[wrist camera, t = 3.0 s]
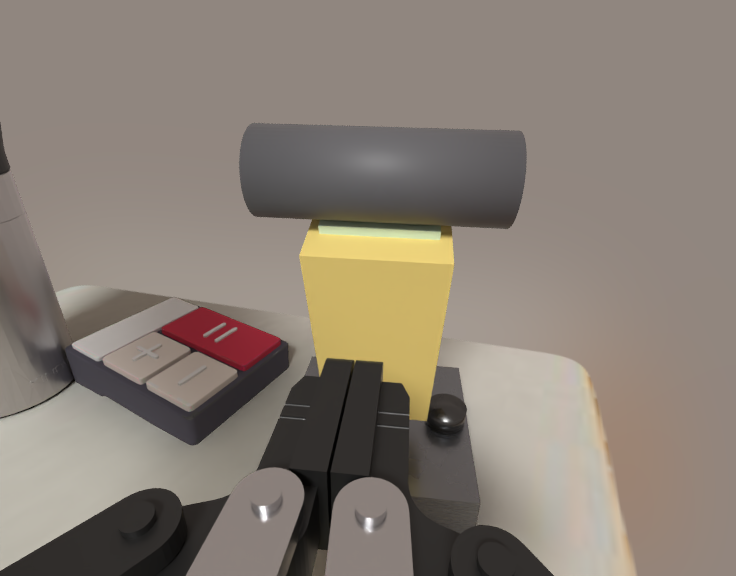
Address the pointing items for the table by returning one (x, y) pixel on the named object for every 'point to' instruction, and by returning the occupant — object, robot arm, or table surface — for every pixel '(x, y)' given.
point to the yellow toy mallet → (382, 229)
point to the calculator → (179, 366)
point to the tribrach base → (441, 455)
